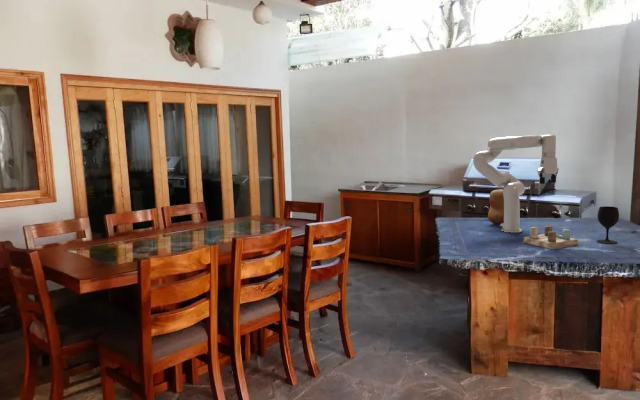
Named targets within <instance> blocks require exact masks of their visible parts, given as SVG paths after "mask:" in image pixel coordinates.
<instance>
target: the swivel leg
mask: <svg viewBox="0 0 640 400" xmlns="http://www.w3.org/2000/svg"><path fill="white" fill-rule="evenodd" d="M561 232H562V233H561V234H558V233H556V237H559V238H562V239H570V238H571V229H567V228H566V229H565V228H563V229H562V231H561Z"/></svg>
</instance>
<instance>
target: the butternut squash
mask: <svg viewBox="0 0 640 400" xmlns="http://www.w3.org/2000/svg"><path fill="white" fill-rule="evenodd" d="M489 205H490V206H489V207H490V208H489V210H488V214H487V219H488V221H489V222H491V223H492V224H493V225H495V224H497V225H496V226H500V225H499V224H501V223H504V196H503V189H500V188H499V189H494V190H492V191H491V192H490V193H489Z"/></svg>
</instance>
